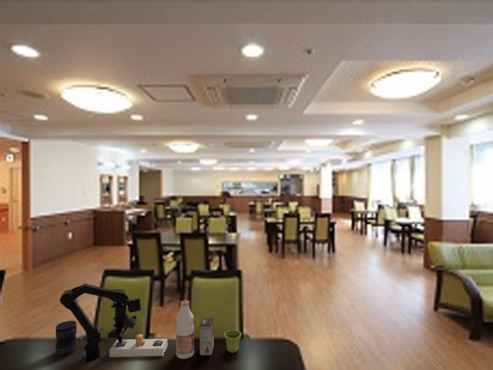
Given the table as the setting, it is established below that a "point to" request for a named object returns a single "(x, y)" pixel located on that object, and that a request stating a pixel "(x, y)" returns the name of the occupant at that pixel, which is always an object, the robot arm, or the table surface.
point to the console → (138, 348)
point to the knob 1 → (121, 344)
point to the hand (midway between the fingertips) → (120, 342)
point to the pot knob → (139, 340)
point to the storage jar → (66, 338)
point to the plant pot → (232, 340)
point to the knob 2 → (158, 343)
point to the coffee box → (206, 336)
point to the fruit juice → (184, 332)
